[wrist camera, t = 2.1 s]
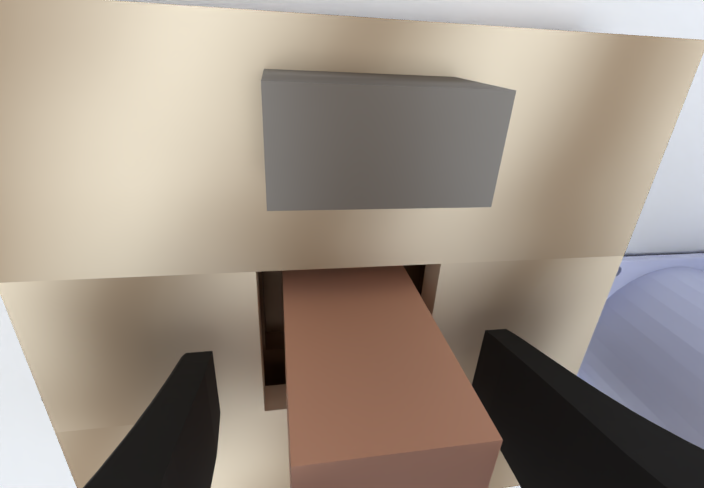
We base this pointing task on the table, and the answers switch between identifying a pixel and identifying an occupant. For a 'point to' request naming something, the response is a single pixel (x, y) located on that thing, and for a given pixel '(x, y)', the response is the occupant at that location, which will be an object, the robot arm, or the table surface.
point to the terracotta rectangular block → (377, 387)
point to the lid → (303, 192)
